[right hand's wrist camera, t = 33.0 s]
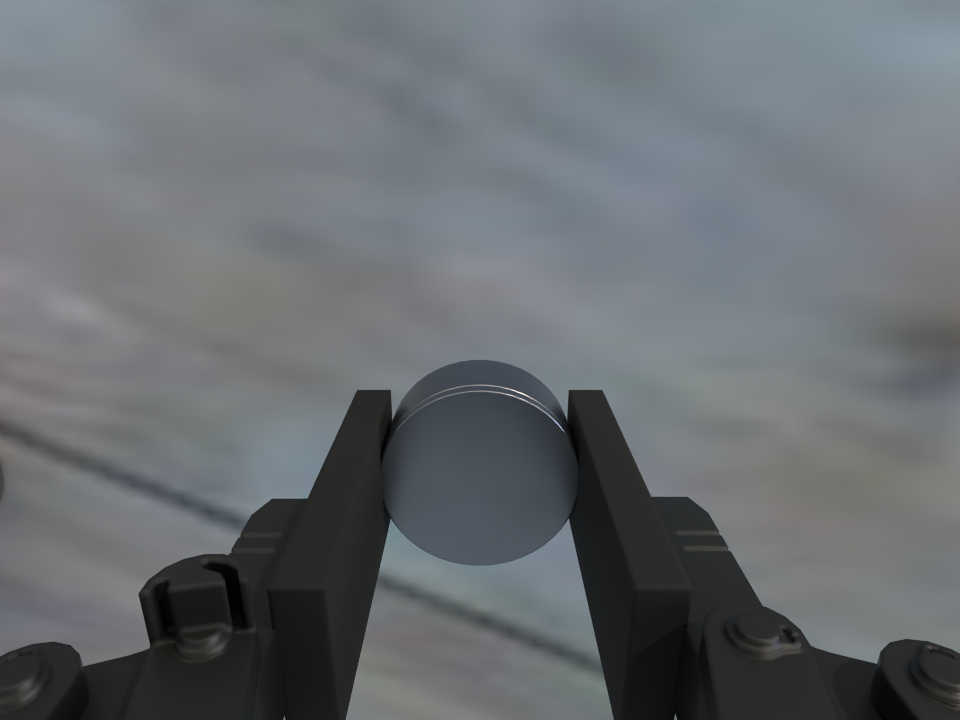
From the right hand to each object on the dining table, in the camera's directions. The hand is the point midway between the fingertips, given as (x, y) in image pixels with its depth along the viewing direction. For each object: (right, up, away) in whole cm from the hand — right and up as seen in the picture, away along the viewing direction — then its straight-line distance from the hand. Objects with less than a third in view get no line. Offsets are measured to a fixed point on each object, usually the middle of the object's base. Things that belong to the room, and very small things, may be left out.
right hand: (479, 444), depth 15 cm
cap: (0, 0, -1) cm, 2 cm away
